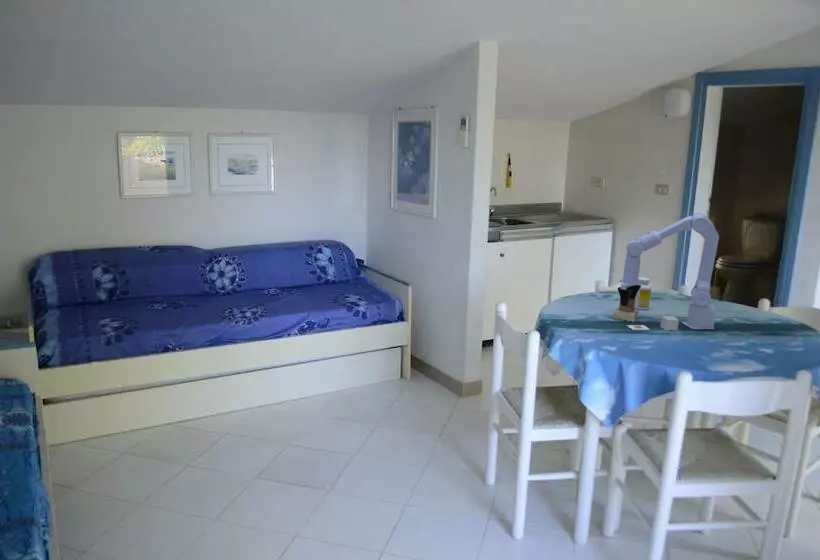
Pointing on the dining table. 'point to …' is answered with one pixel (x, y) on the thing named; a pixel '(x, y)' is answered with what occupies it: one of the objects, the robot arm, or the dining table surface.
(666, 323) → the grey block
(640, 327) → the card
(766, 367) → the dining table surface
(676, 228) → the robot arm
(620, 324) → the dining table surface
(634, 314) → the birch base block
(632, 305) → the walnut block
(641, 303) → the supplement bottle
